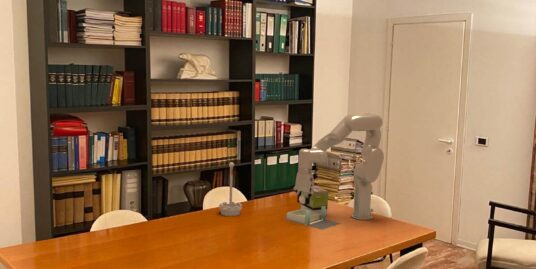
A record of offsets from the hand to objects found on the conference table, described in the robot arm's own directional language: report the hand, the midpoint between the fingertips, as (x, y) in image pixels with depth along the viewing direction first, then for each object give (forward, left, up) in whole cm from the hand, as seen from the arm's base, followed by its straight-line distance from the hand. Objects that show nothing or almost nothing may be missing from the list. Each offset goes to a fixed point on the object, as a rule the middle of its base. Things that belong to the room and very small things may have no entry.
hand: (303, 202), depth 292 cm
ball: (0, 0, 0) cm, 0 cm away
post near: (+7, +9, -10) cm, 15 cm away
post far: (-7, +9, -10) cm, 15 cm away
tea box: (-15, -4, -10) cm, 19 cm away
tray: (0, 0, -9) cm, 9 cm away
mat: (0, +6, -10) cm, 11 cm away
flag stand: (+22, -36, -10) cm, 43 cm away
